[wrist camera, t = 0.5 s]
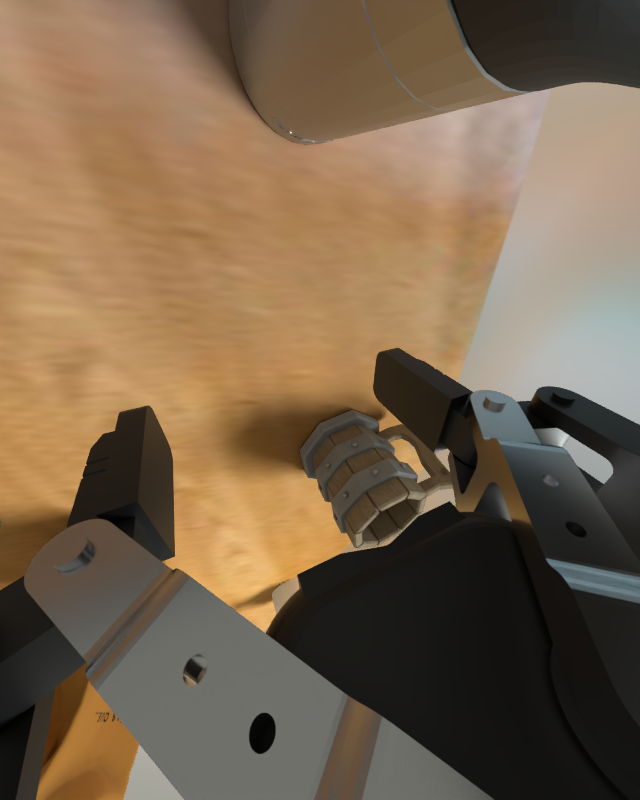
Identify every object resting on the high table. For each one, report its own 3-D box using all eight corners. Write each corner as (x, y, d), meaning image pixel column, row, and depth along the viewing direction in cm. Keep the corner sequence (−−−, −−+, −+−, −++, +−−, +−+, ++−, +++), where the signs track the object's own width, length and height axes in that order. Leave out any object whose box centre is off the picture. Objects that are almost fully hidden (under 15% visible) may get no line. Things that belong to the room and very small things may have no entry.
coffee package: (103, 577, 39) (63, 849, 23) (32, 539, 31) (-106, 922, 15) (176, 543, 41) (186, 769, 25) (129, 500, 33) (99, 793, 17)
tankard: (307, 483, 46) (352, 574, 35) (293, 432, 38) (346, 531, 27) (407, 436, 51) (473, 505, 40) (414, 382, 43) (500, 450, 32)
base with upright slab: (310, 572, 69) (331, 628, 60) (300, 590, 73) (319, 645, 64) (276, 583, 64) (294, 646, 56) (268, 602, 68) (283, 663, 60)
